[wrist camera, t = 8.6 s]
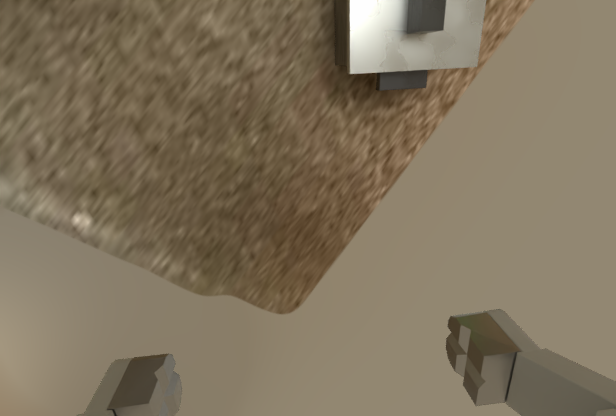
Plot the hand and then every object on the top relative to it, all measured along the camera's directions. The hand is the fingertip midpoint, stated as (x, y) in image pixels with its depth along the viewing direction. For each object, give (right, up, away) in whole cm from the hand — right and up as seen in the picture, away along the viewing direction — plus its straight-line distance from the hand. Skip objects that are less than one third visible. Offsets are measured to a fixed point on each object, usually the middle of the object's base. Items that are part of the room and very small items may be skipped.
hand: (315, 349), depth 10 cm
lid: (+8, +20, +15) cm, 26 cm away
